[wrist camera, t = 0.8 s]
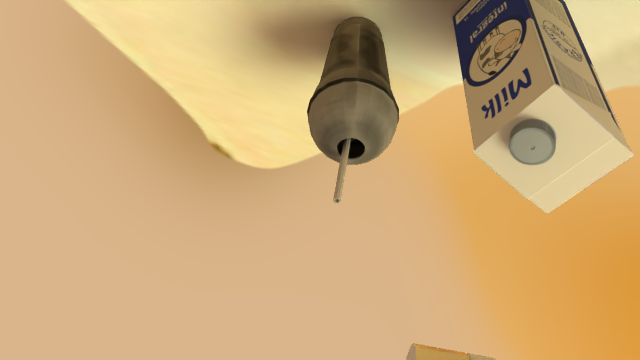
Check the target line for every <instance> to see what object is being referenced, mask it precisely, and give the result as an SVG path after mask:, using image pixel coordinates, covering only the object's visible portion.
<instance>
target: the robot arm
mask: <svg viewBox="0 0 640 360" xmlns="http://www.w3.org/2000/svg"><path fill="white" fill-rule="evenodd" d="M407 360H495V358H490V357H485V356H480V355H474V354H468V353H467V354H466V353H463V352H457V351H452V350H446V349H441V348H436V347H430V346H425V345H419V344H414V343H413V344H412V346H411V347H410V349H409V352H408V355H407Z"/></svg>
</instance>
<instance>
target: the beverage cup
mask: <svg viewBox="0 0 640 360" xmlns="http://www.w3.org/2000/svg"><path fill="white" fill-rule="evenodd" d="M307 114H308V122H309V126H310V132H311V136H312V138H313V140H314V141H315V143H316V145H317V147H318V148H319V149H320V150H321V151H322V152H323V153H324V154H325V155H326V156H327V157H329V158H331V159H333V160H334V161H337V162H339V163H340V165H339V171H338V177H337V183H336V188H335V194H334V202H335V203H339V202H340V200H341V195H342V189H343V183H344V176H345V171H346V165H358V164H362V163H366V162H369V161H371V160H372V159H374V158H376V157H378V156H379V155H380V154H381V153H382V152H383V151H384V150H385V149H386V148H387V147H388V146H389V144H390V143H391V140H392V138H393V136H394V133H395V131H396V126H397V123H398V121H399V108H398V106H397V103H396V101H395V98H394V96H393V93H392V91H391V87H390V81H389V74H388V68H387V61H386V55H385V48H384V43H383V40H382V35H381V32H380V30H379V28H378V27H377V25H376V24H375V23H373V22H372V21H370V20H368V19H365V18H361V17H355V18H350V19H347V20H345V21H343V22H342V23H341V24H339V25H338V27H337V28H336V30H335V33H334V36H333V38H332V40H331V44H330V48H329V51H328V55H327V58H326V62H325V66H324V69H323V73H322V76H321V80H320V83H319V85H318V86H317V88H316V90H315V92H314V94H313V97H312V98H311V99H310V102H309V106H308V110H307Z"/></svg>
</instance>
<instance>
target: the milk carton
mask: <svg viewBox="0 0 640 360" xmlns="http://www.w3.org/2000/svg"><path fill="white" fill-rule="evenodd" d="M453 22H454V28H455V34H456V40H457V46H458V53H459V59H460V65H461V71H462V77H463V84H464V90H465V96H466V102H467V108H468V115H469V121H470V126H471V133H472V139H473V145H474V151H473V153H474V154H475V155H476V156H477V157H478V158H480V159H481V160H482V161H483V162H484V163H485V164H487V165H488V166H489V167H490V168H491V169H492V170H493V171H495V172H496V173H497V174H498V175H499V176H501V177H502V178H503V179H504V180H506V182H507V183H509V184H510V185H511V186H512V187H513V188H515V189H516V190H517V191H518V192H519V193H520V194H521V195H523V196H524V197H525V198H526V199H529V200H530V201H532V202H533V203H534V204H536V205H537V206H538V207H539V208H541V209H542V210H543V211H544V212H546V213H549V212H551V211H552V210H554V209H555V208H557V207H558V206H559V205H561V204H563V203H564V202H565V201H567V200H569V199H570V198H572V197H573V196H574V195H576V194H577V193H579V192H580V191H581V190H583V189H585V188H586V187H588V186H589V185H591V184H592V183H594V182H595V181H597V180H598V179H600V178H601V177H603V176H604V175H606V174H607V173H609V172H610V171H612V170H613V169H615V168H616V167H618V166H619V165H621V164H622V163H624V162H625V161H627V160H628V159H630V158H631V157H633V156H634V154H633V152H632V150H631V149H630V147H629V145H628V144H627V141H626V139H625V137H624V135H623V132H622V130H621V128H620V126H619V123H618V121H617V119H616V116H615V114H614V112H613V110H612V107H611V105H610V103H609V101H608V99H607V96H606V94H605V92H604V89H603V87H602V85H601V83H600V80H599V78H598V76H597V74H596V71H595V69H594V67H593V65H592V62H591V60H590V58H589V56H588V53H587V51H586V49H585V46H584V44H583V42H582V40H581V37H580V35H579V33H578V31H577V28H576V26H575V24H574V22H573V19H572V17H571V15H570V13H569V10H568V8H567V6H566V4H565V2H564V1H563V0H469V1H468V2H467V3H466V4H465V5H464V6H463V7H462V8H461V9H460V10H459V11H458V12H457V13H456V15H455V16H454V17H453Z"/></svg>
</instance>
